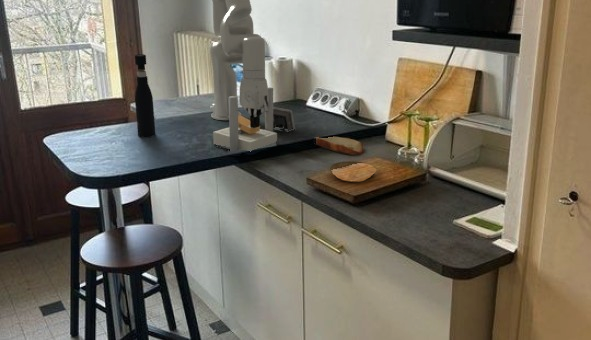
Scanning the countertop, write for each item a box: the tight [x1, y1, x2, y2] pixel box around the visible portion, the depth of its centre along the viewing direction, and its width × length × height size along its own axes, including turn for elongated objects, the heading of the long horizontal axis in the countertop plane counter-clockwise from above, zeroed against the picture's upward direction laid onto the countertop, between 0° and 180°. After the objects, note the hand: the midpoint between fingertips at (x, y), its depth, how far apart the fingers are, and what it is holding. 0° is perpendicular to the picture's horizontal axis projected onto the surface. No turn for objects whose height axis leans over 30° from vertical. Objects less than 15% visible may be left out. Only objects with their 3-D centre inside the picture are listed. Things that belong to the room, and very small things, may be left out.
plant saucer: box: [328, 160, 365, 172], centre depth 178 cm, size 15×15×3 cm
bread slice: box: [315, 136, 365, 156], centre depth 204 cm, size 18×18×4 cm
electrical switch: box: [273, 106, 296, 131], centre depth 221 cm, size 9×5×9 cm, turn 57°
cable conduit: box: [228, 96, 239, 151], centre depth 193 cm, size 5×5×20 cm
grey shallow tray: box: [212, 127, 278, 152], centre depth 204 cm, size 18×14×6 cm
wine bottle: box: [134, 53, 156, 138], centre depth 210 cm, size 6×6×30 cm
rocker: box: [238, 114, 261, 134], centre depth 202 cm, size 10×5×2 cm, turn 52°
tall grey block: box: [264, 86, 274, 132], centre depth 206 cm, size 5×5×20 cm
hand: (255, 126), depth 199 cm, fingers closed
